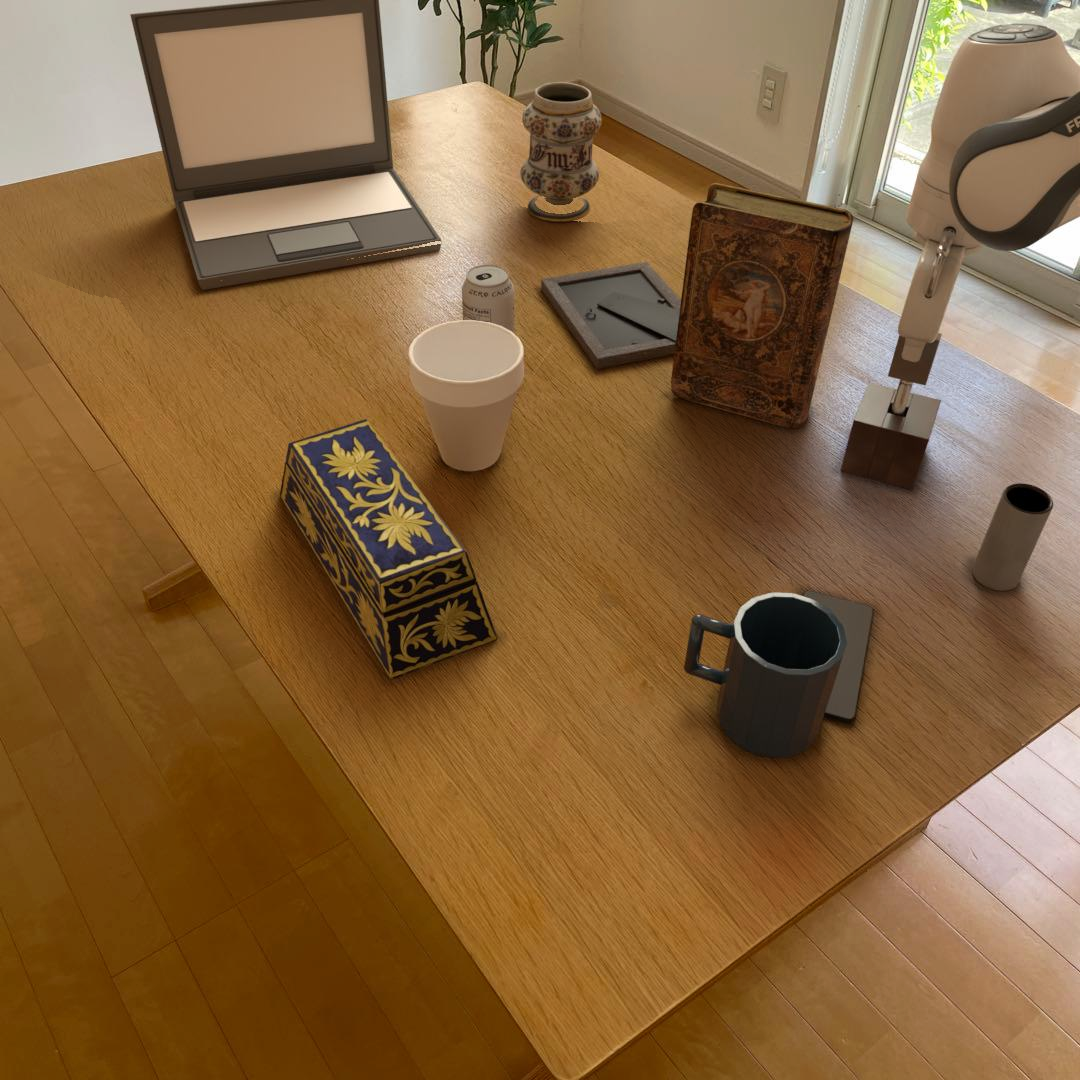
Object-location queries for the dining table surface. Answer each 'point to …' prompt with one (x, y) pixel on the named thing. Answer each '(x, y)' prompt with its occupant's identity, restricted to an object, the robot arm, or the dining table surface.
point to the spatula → (910, 372)
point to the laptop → (278, 137)
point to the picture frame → (617, 312)
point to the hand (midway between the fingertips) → (918, 334)
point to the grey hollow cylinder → (1012, 536)
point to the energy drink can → (489, 296)
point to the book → (757, 302)
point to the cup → (467, 388)
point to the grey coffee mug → (773, 671)
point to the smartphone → (847, 654)
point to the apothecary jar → (560, 147)
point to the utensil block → (889, 437)
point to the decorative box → (384, 549)
